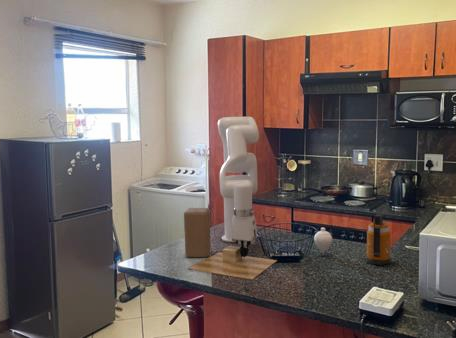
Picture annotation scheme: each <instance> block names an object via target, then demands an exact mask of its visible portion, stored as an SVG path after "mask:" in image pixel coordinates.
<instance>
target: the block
mask: <svg viewBox="0 0 456 338" xmlns="http://www.w3.org/2000/svg"><path fill="white" fill-rule="evenodd" d="M183 227H184V255H185V257H186V258H209V255H210V253H211V250H212V236H211V234H212V233H211V209H210V208H209V207H189V208H187V209H186V210H185V211H184V212H183Z"/></svg>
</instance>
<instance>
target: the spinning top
mask: <svg viewBox="0 0 456 338" xmlns="http://www.w3.org/2000/svg"><path fill="white" fill-rule="evenodd" d="M313 241H314V244H315V246H316V247H317V249H318V250H319V251H320V252H321V253H322V256H324V254H325V253H326V252H327V250H329V248H330V246H331V244H332V242H333V235H332V234H331V233H330V232H329V231H327V230H326V228H325V227H320V230H318V231H317V232H316V233H315V235H314V237H313Z"/></svg>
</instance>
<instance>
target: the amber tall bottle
mask: <svg viewBox="0 0 456 338" xmlns="http://www.w3.org/2000/svg"><path fill="white" fill-rule="evenodd" d="M383 218H384V214H383V213H376V214H375V215H374V218H373V219H374V220H373V222H370V223H369V224H368V230H366V262H368V263H370V264H372V265H377V266H385V265H387V264H389V263H390V262H391V231H390V226H389V223H388V222H387V221H385V220H383Z"/></svg>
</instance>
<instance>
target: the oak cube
mask: <svg viewBox="0 0 456 338" xmlns="http://www.w3.org/2000/svg"><path fill="white" fill-rule="evenodd" d="M222 253H223V261H226V262H233V263H236V262H238V261H239V260H241V259H242V257H241V254H240V247H239V246H235V245H234V246H233V245H228V246H226V247H224V248H223V249H222Z"/></svg>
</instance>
